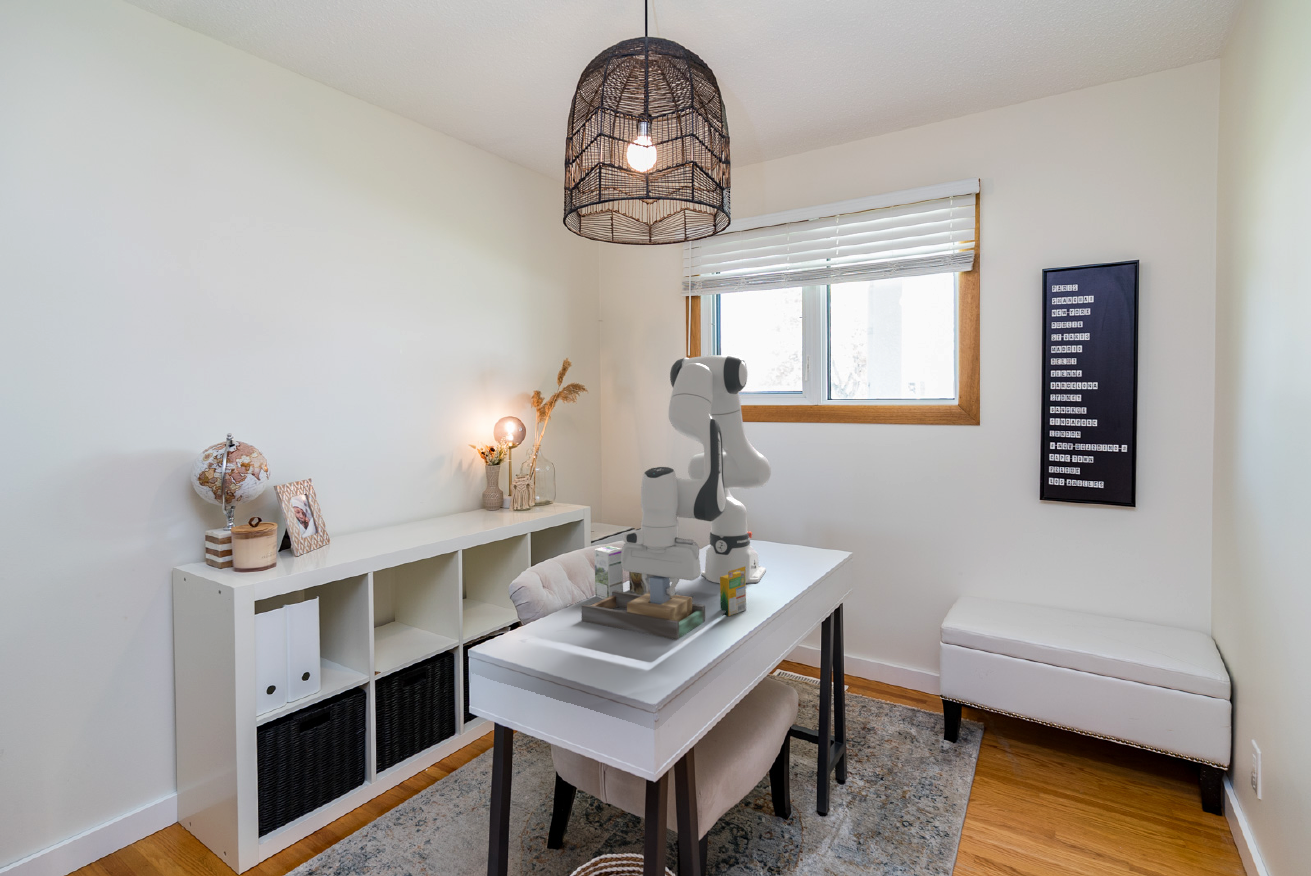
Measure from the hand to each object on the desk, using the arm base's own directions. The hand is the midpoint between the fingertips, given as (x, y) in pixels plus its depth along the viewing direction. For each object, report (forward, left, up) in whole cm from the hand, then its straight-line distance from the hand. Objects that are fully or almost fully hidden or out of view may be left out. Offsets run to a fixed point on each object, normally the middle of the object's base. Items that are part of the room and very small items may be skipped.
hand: (660, 593), depth 153 cm
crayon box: (-20, +10, -9) cm, 24 cm away
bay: (0, -5, -9) cm, 10 cm away
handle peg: (0, 0, -6) cm, 6 cm away
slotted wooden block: (0, 0, -7) cm, 7 cm away
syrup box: (-13, -24, -9) cm, 29 cm away
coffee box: (-21, -17, -9) cm, 28 cm away
